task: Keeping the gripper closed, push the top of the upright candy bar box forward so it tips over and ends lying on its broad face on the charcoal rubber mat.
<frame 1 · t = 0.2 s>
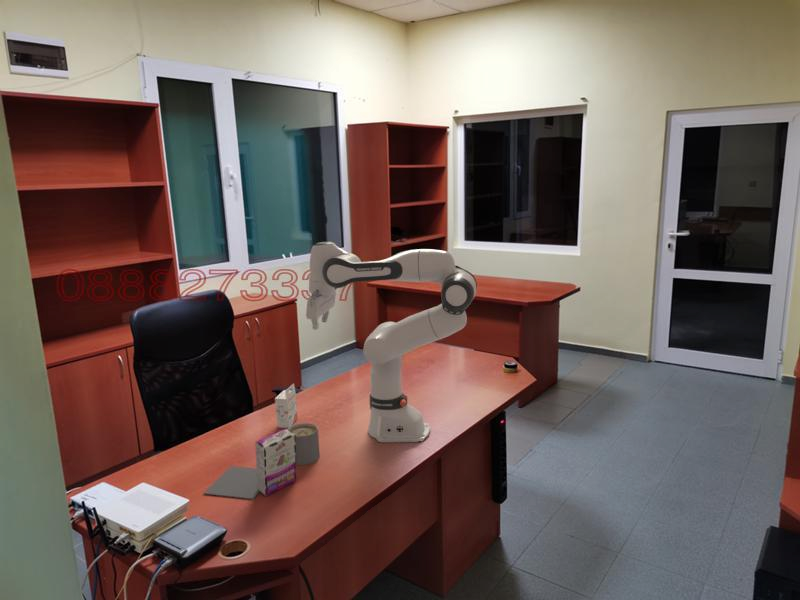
hand: (320, 325, 200), 39 cm above the table, tool pointing down, fingers open, 8 cm apart
coffee mug: (307, 455, 188), on the table
ink cartridge box: (287, 423, 213), on the table
candy bar box: (276, 485, 169), on the table, touching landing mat
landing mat: (241, 482, 172), on the table
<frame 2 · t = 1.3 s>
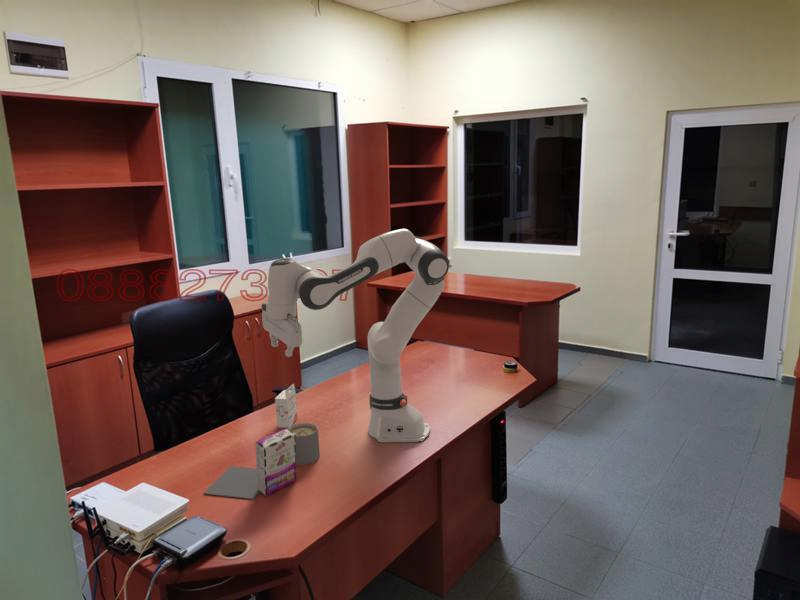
hand: (281, 350, 180), 36 cm above the table, tool pointing down, fingers open, 8 cm apart
nothing on the table moved.
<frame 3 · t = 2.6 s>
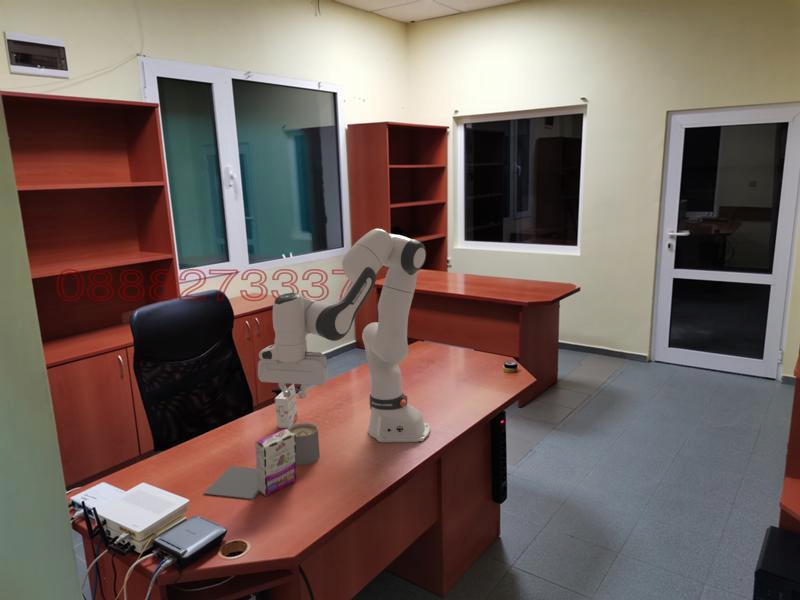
hand: (294, 397, 161), 29 cm above the table, tool pointing down, fingers open, 3 cm apart
nothing on the table moved.
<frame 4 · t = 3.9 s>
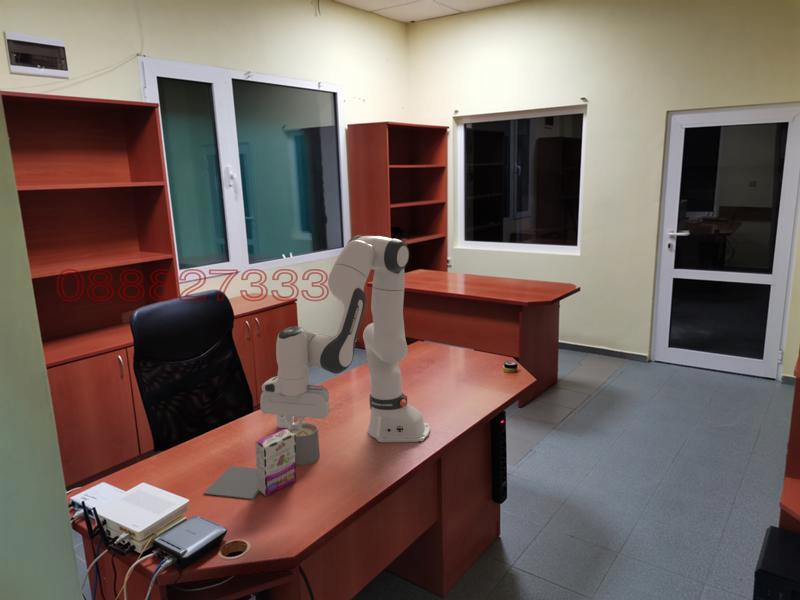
hand: (296, 429, 163), 19 cm above the table, tool pointing down, fingers closed
nothing on the table moved.
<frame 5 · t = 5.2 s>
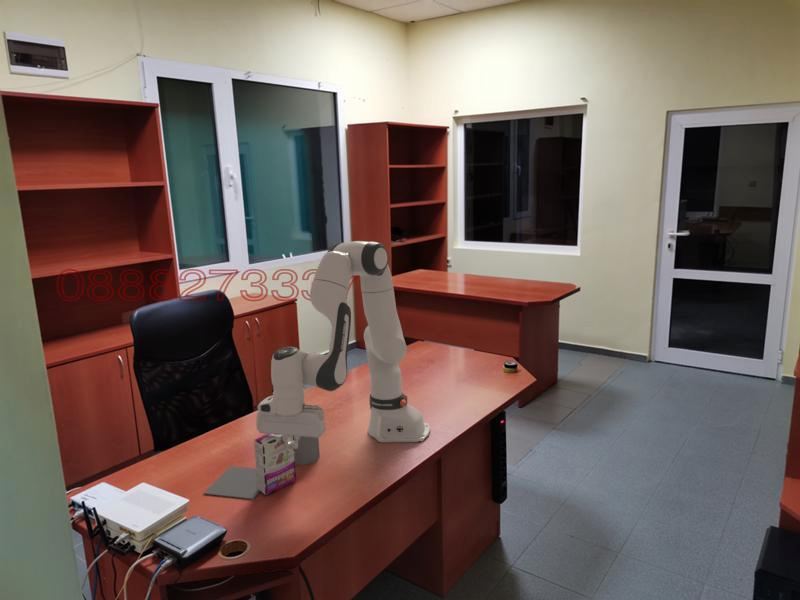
hand: (292, 447, 165), 13 cm above the table, tool pointing down, fingers closed
candy bar box: (276, 486, 169), on the table, touching gripper, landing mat
everything else where it was.
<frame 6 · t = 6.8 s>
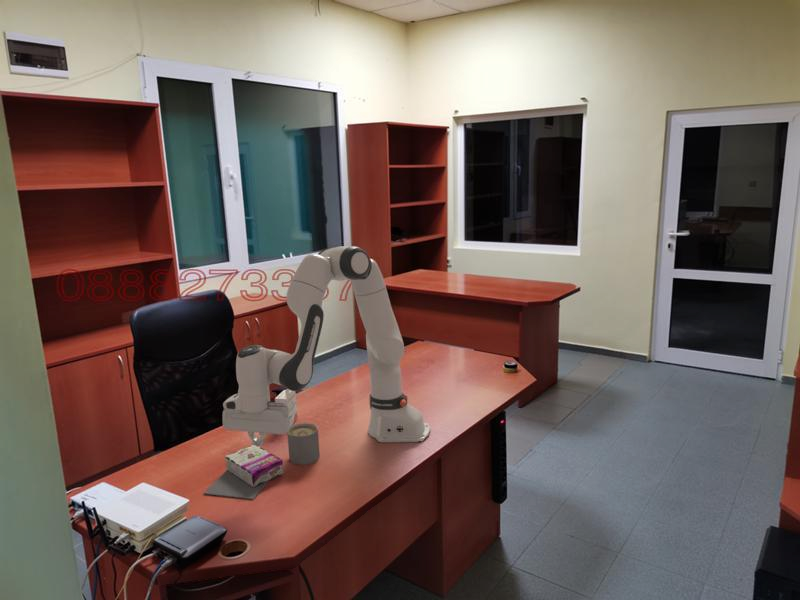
hand: (258, 444, 167), 13 cm above the table, tool pointing down, fingers closed
candy bar box: (268, 474, 171), point 3 cm above the table, touching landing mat
everything else where it was.
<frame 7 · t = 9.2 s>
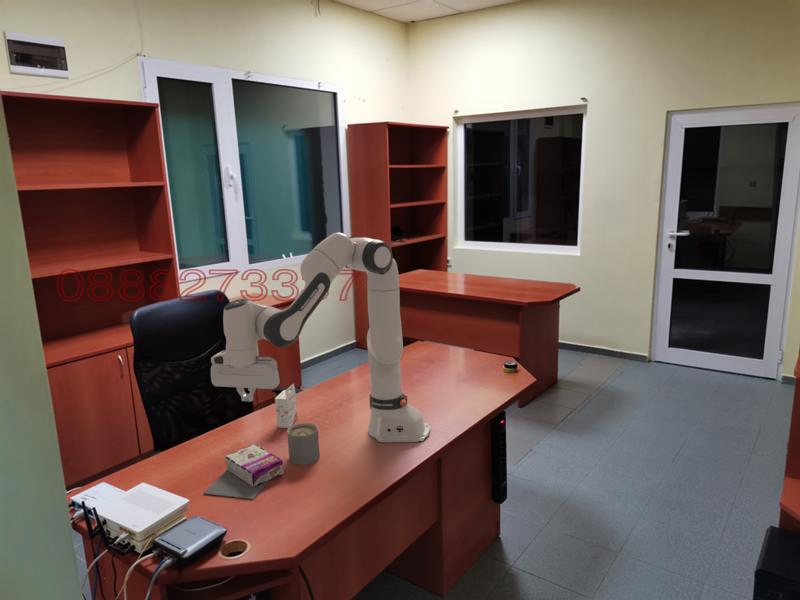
hand: (247, 400, 165), 27 cm above the table, tool pointing down, fingers closed
nothing on the table moved.
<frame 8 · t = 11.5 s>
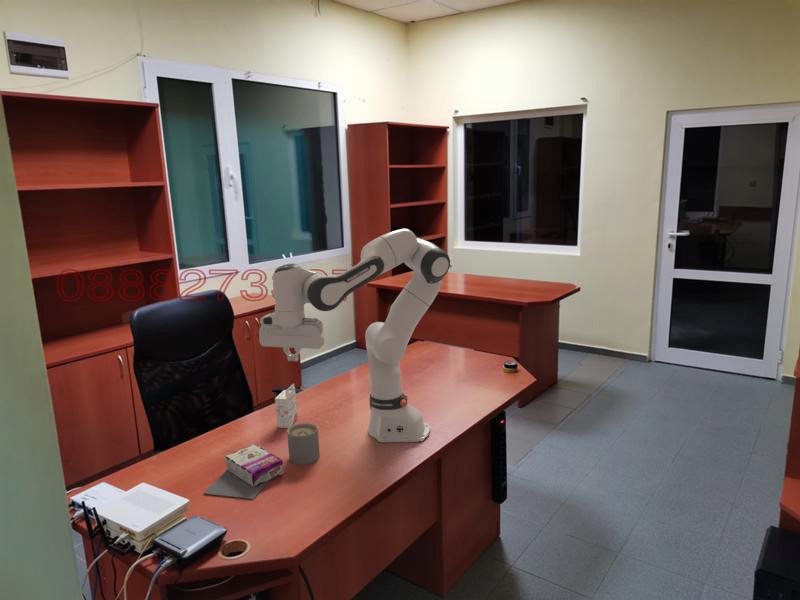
hand: (293, 360, 175), 35 cm above the table, tool pointing down, fingers closed
nothing on the table moved.
at the end: candy bar box tilted 89°; candy bar box inside the target area (2.5 cm from its centre), point 2.8 cm above the table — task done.
